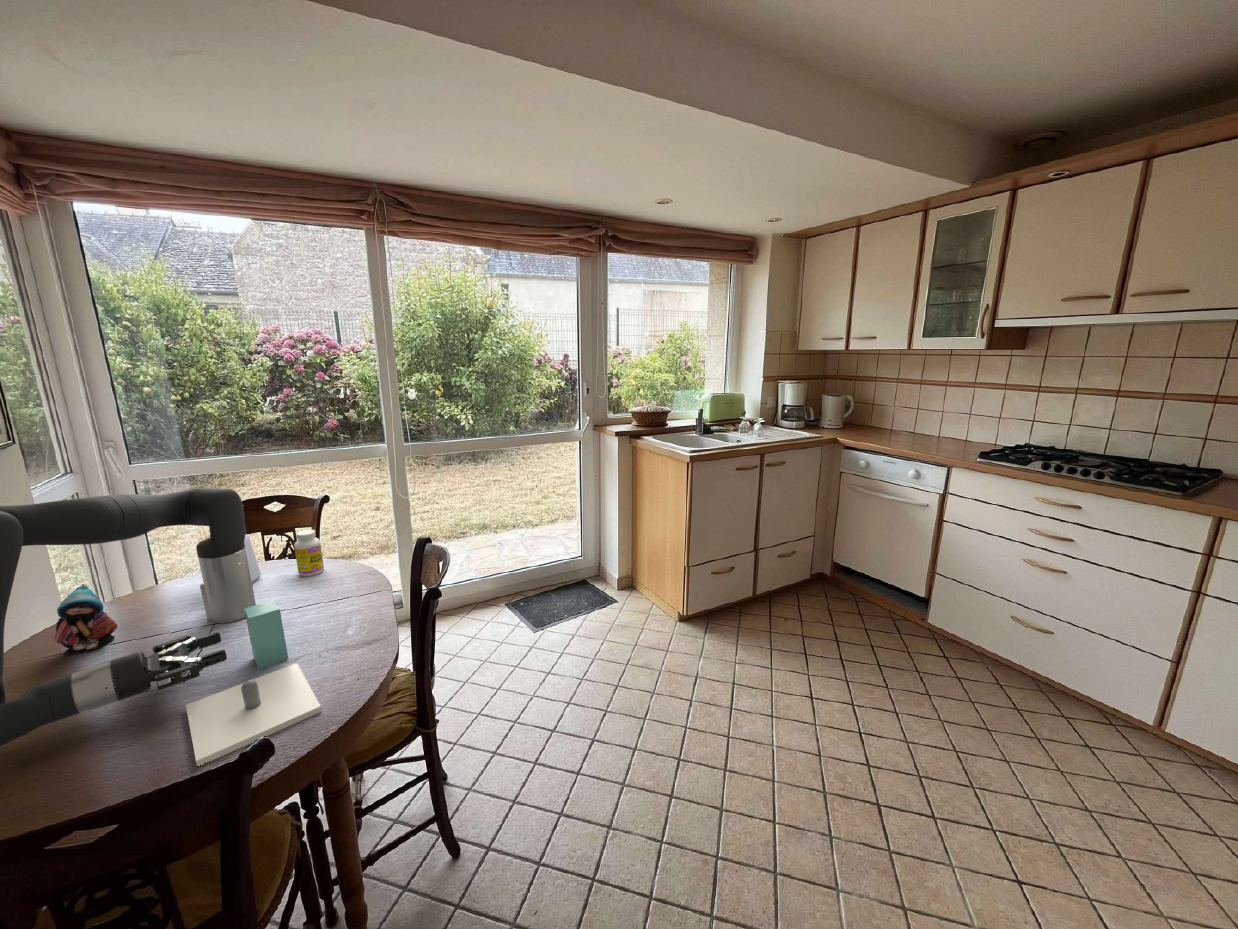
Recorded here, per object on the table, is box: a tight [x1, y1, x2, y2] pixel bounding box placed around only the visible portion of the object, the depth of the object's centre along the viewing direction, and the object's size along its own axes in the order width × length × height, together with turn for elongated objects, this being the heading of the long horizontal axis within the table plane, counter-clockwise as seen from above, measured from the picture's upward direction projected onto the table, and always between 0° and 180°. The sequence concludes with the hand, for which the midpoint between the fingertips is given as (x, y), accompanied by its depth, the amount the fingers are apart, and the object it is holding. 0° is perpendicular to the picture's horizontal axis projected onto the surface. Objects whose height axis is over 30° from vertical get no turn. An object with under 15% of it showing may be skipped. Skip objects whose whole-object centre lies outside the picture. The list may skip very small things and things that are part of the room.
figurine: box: [53, 583, 118, 656], centre depth 110 cm, size 10×7×15 cm
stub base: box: [185, 662, 323, 767], centre depth 92 cm, size 18×18×6 cm
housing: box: [244, 599, 289, 670], centre depth 107 cm, size 5×5×12 cm
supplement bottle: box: [293, 529, 325, 577], centre depth 148 cm, size 7×7×13 cm
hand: (223, 645), depth 102 cm, fingers open, 8 cm apart
